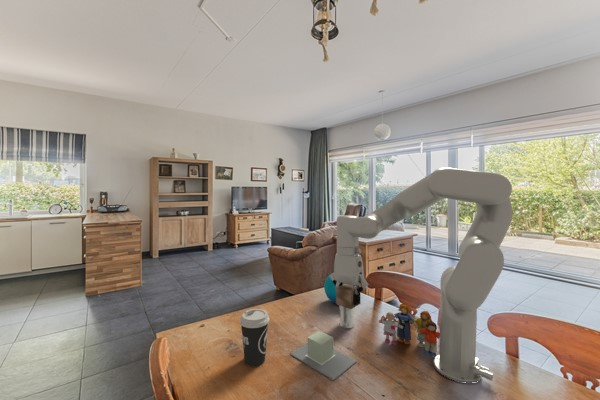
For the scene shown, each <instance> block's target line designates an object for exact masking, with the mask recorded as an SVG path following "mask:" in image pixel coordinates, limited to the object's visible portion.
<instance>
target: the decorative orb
mask: <svg viewBox="0 0 600 400" xmlns="http://www.w3.org/2000/svg"><path fill="white" fill-rule="evenodd" d="M331 274H332V273H330V274H329V275H328V276H327V277H326V279H325V281H324V285H323V287H324V292H325V295H326V298H328V300H330V301H331V302H333V303H334V304H336V288H335V285H334V283H333V281H332V280H331V278H330V275H331ZM343 284H345V283H343Z"/></svg>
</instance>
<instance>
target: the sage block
mask: <svg viewBox="0 0 600 400" xmlns="http://www.w3.org/2000/svg"><path fill="white" fill-rule="evenodd" d="M307 343H308V350H307V355H308V356H309V357H311V358H313V359H314V360H316V361H318V362H320V363H321V364H322V363H323V362H325V361H326V360H327V359H329V358H330V357H332V356H333V349H334V337H333V336H331V335H329V334H327V333H325V332H322V330H321V331H320V330H318V331H317V332H314V333H313V334H311V335H309V336H308V337H307Z"/></svg>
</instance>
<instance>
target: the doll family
mask: <svg viewBox="0 0 600 400" xmlns="http://www.w3.org/2000/svg"><path fill="white" fill-rule="evenodd" d="M397 308H398V310H397V311H399V312H396V313H393V312H391V311H390V312H387V313H386V315H384V314H383V315H381V317H380V319H379V320H378V323H379V324H382V325H384V326H383V336H385V339H384V343H387V344H392V345H393V346H397V345H398V342H399V343H404V345H410V344H411V341H412V333H411V332H412V331H411V325H413V326H414V327H415V329H416V333H417V338H416V340H417V341H418V344H417V346H418V347H421V348H423V347H424V350H423V353H424V354H426V355H431V357H432V356H434V357H433V358H435V356H436V355H437V351H438V347H437V345H438V339H439V340H440V331H437V330H438V326H437V324H436V323H435V322H434V321H433V320H432V316H431V313H429V311H427V310H422V311H421V312H420V313H419V315H420V316H419V317H417V318H416V319H415V318H414V317H413V316H412V314H410V313H409V311H410V309H411V305H410V304H403V303H402V304H401V303H400V305H399V306H397ZM397 319H398V320H397ZM390 338H392V339H390ZM397 338H398V339H397ZM396 339H397V340H396Z"/></svg>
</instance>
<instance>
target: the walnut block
mask: <svg viewBox="0 0 600 400" xmlns="http://www.w3.org/2000/svg"><path fill="white" fill-rule="evenodd" d="M356 287H357V286H356ZM354 293H355V292H354V289H353V286H352V285H349V284H343V285H341V286H339V287H336V303H335V304H336V305H337V306H339V305H340V306H343V307H346V308H349V309H352V308H354V307H355V308H356V307H357V306H359V305H361V302H360V303H359V304H357V305H356V306H355V305H353V294H354Z"/></svg>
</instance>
